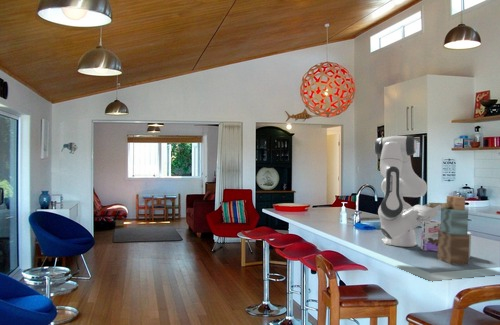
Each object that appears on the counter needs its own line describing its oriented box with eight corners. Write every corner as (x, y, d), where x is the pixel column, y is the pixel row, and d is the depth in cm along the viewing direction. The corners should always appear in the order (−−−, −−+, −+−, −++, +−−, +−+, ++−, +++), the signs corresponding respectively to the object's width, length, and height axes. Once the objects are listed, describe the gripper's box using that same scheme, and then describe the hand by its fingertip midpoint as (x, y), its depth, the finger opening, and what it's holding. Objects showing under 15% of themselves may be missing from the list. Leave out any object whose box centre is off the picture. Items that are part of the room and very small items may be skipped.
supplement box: (470, 258, 246) (471, 233, 246) (454, 256, 249) (455, 232, 249) (469, 255, 253) (470, 231, 253) (454, 254, 256) (455, 230, 256)
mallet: (425, 207, 240) (426, 195, 240) (455, 208, 242) (456, 196, 242) (433, 209, 232) (433, 196, 232) (464, 210, 234) (465, 197, 234)
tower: (437, 258, 244) (439, 207, 243) (454, 258, 245) (456, 207, 244) (450, 264, 231) (452, 210, 231) (468, 264, 232) (470, 210, 231)
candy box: (422, 251, 262) (423, 220, 262) (420, 248, 268) (421, 219, 268) (449, 252, 260) (450, 222, 260) (446, 250, 266) (447, 220, 266)
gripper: (419, 215, 225) (444, 201, 226) (401, 210, 245) (424, 197, 246) (425, 227, 225) (450, 213, 226) (406, 221, 246) (429, 207, 247)
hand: (436, 204), depth 237 cm, fingers open, 6 cm apart
